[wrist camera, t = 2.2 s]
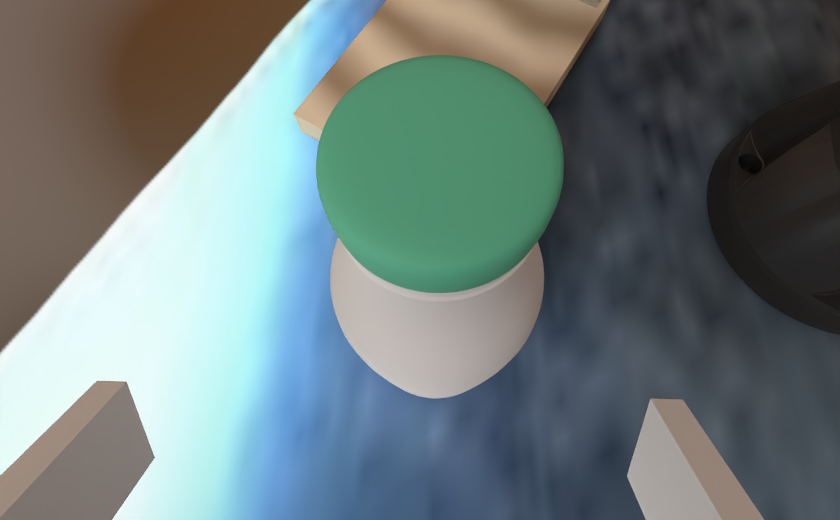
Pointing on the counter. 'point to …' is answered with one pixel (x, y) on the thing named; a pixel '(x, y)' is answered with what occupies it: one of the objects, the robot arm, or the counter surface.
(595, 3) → the bookend
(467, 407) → the counter surface
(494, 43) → the shelf board
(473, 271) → the milk bottle
